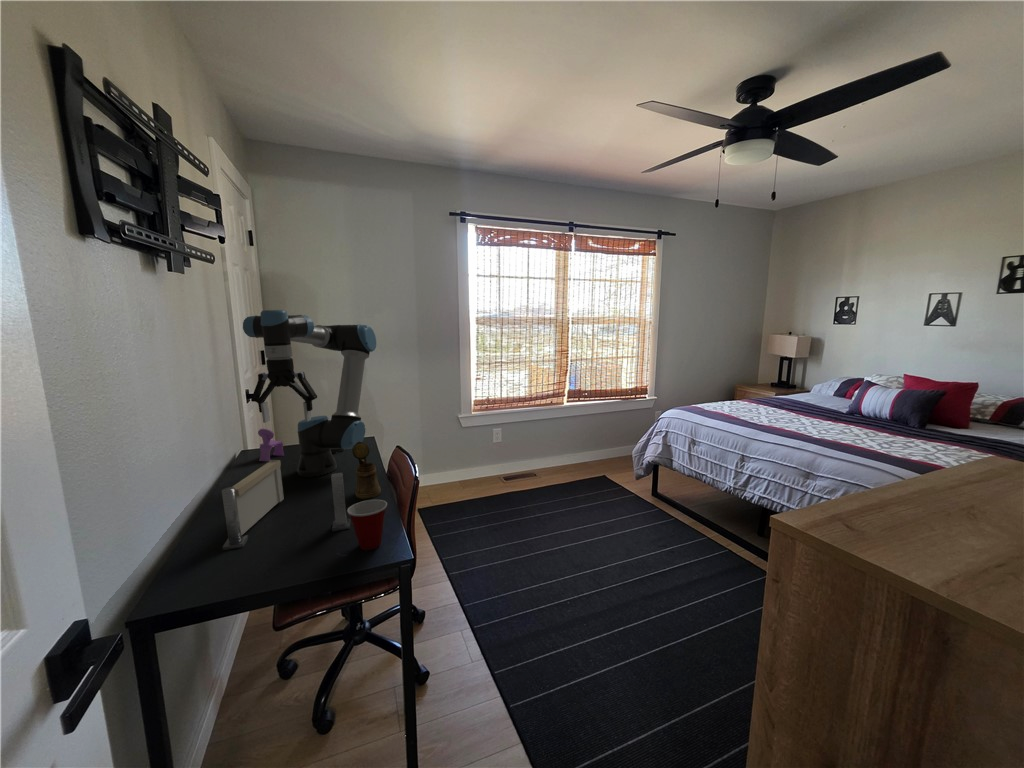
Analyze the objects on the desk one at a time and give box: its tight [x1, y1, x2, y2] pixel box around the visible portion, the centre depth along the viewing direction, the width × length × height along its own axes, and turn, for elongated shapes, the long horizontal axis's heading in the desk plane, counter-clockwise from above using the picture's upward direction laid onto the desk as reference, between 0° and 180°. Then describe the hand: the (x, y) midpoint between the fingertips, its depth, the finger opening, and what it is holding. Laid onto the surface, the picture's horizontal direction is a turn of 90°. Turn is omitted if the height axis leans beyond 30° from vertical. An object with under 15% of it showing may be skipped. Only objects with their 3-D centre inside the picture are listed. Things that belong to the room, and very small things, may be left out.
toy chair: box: [257, 428, 285, 463], centre depth 187 cm, size 8×9×15 cm
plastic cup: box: [346, 499, 388, 551], centre depth 115 cm, size 11×11×12 cm
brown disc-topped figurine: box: [352, 441, 382, 500], centre depth 149 cm, size 9×14×18 cm, turn 33°
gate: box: [231, 459, 285, 536], centre depth 129 cm, size 3×24×14 cm, turn 4°
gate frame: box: [221, 472, 351, 551], centre depth 120 cm, size 5×34×17 cm, turn 110°
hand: (287, 421), depth 134 cm, fingers open, 13 cm apart
